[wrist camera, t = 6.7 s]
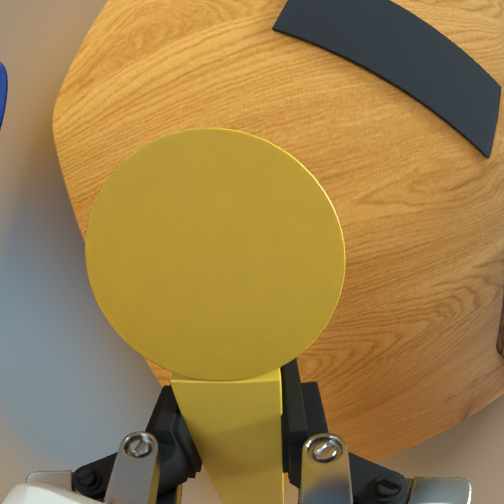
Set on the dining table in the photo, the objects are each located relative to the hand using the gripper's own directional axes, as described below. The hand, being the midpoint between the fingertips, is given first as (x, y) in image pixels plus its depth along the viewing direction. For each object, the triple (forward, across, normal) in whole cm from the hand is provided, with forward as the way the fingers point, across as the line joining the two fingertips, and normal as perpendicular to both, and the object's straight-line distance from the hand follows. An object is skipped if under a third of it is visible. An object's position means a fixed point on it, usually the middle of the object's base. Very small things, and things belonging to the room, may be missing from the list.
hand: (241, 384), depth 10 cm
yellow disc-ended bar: (0, 0, 0) cm, 0 cm away
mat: (+13, -16, -20) cm, 29 cm away
